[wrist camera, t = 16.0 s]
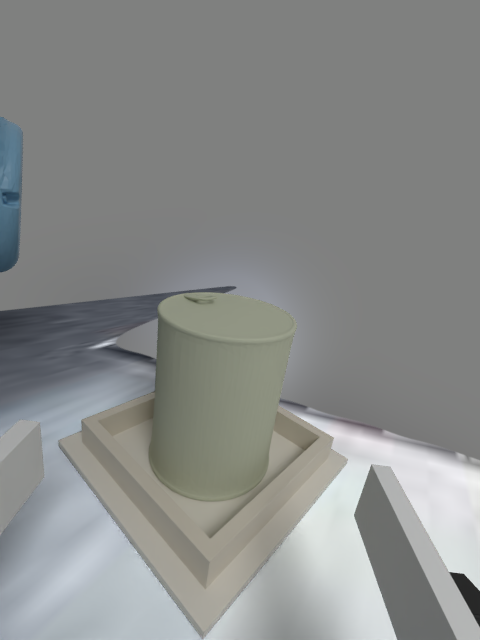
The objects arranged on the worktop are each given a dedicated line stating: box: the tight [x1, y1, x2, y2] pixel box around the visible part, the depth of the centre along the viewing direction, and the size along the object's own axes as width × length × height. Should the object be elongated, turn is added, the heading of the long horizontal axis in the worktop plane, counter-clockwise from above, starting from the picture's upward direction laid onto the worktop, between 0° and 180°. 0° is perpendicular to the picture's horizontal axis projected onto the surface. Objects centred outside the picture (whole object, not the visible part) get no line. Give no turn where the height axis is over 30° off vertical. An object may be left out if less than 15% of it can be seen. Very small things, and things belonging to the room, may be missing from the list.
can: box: [149, 292, 297, 501], centre depth 23 cm, size 9×9×12 cm
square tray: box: [58, 392, 348, 639], centre depth 25 cm, size 16×16×2 cm
